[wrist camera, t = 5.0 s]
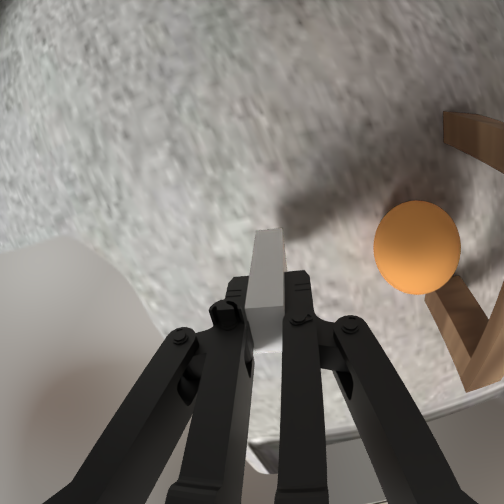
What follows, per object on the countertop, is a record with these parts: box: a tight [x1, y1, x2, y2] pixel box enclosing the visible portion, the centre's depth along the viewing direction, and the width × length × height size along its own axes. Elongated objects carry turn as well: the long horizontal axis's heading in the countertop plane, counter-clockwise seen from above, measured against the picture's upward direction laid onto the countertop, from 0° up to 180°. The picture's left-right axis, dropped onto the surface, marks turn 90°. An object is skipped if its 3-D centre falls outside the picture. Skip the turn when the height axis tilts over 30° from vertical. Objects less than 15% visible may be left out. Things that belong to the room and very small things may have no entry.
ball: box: [374, 201, 461, 295], centre depth 16 cm, size 6×6×6 cm
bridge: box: [425, 111, 504, 393], centre depth 13 cm, size 3×14×9 cm, turn 9°
